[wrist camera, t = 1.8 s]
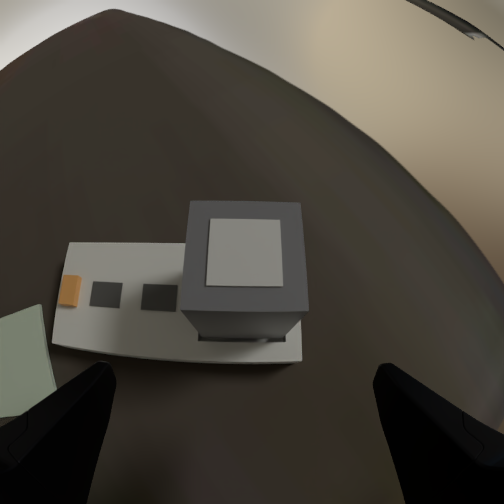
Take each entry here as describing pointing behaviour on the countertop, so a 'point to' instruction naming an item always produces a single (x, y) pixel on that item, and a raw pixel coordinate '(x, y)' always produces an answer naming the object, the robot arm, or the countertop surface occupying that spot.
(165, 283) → the power strip
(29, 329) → the mat
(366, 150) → the countertop surface
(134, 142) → the countertop surface
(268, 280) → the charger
